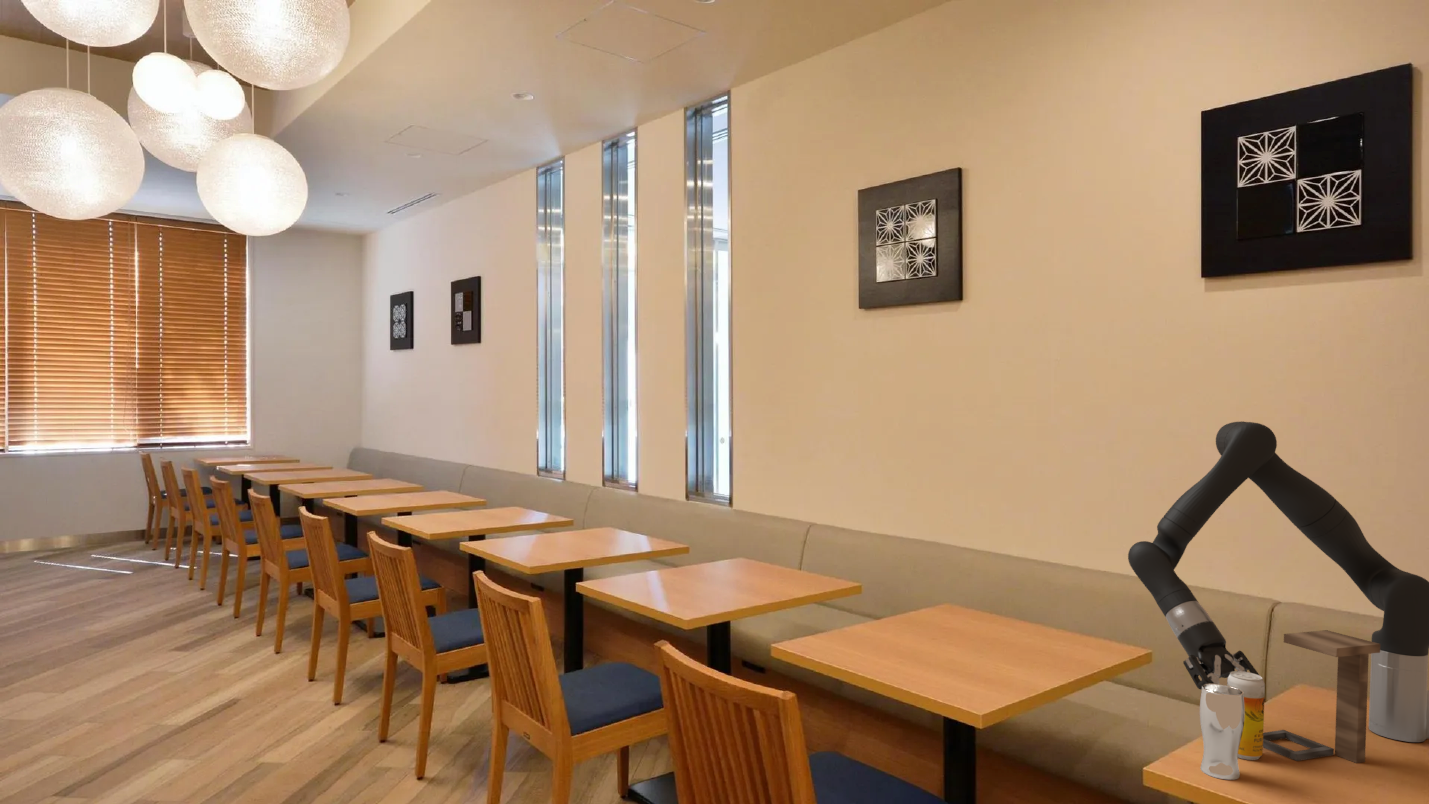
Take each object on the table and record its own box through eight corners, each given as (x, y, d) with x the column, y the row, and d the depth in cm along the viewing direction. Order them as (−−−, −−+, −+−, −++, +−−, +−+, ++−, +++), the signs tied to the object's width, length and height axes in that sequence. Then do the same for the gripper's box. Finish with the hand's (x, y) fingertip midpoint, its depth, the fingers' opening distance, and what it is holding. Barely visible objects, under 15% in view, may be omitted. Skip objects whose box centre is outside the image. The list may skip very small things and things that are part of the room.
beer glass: (1239, 784, 153) (1242, 698, 153) (1194, 773, 158) (1197, 689, 158) (1244, 772, 159) (1247, 688, 159) (1201, 761, 163) (1203, 680, 163)
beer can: (1262, 764, 163) (1265, 682, 163) (1224, 756, 166) (1226, 676, 166) (1262, 753, 168) (1265, 674, 168) (1225, 745, 171) (1228, 668, 171)
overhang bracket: (1293, 734, 179) (1296, 622, 179) (1376, 765, 164) (1380, 643, 164) (1247, 741, 174) (1251, 626, 174) (1328, 774, 159) (1332, 648, 159)
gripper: (1179, 621, 173) (1230, 699, 162) (1233, 617, 178) (1285, 693, 167) (1156, 641, 178) (1204, 718, 167) (1209, 637, 183) (1258, 711, 172)
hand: (1244, 705), depth 167 cm, fingers open, 8 cm apart
